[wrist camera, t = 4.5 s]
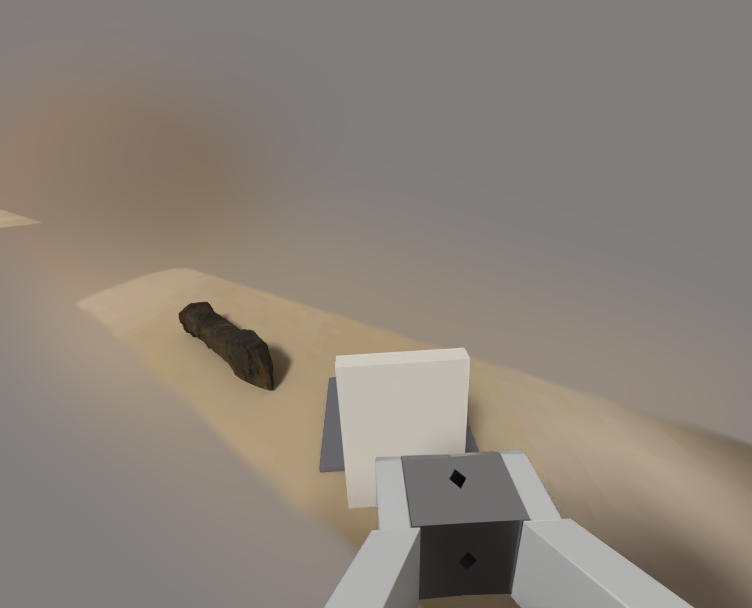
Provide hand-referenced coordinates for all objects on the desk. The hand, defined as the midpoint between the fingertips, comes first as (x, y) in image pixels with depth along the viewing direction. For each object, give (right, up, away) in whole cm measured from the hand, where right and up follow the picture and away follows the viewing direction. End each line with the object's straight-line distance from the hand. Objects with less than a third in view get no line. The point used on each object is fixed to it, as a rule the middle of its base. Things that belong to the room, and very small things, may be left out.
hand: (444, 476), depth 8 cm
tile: (0, -8, +17) cm, 19 cm away
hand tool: (-17, -2, +35) cm, 39 cm away
